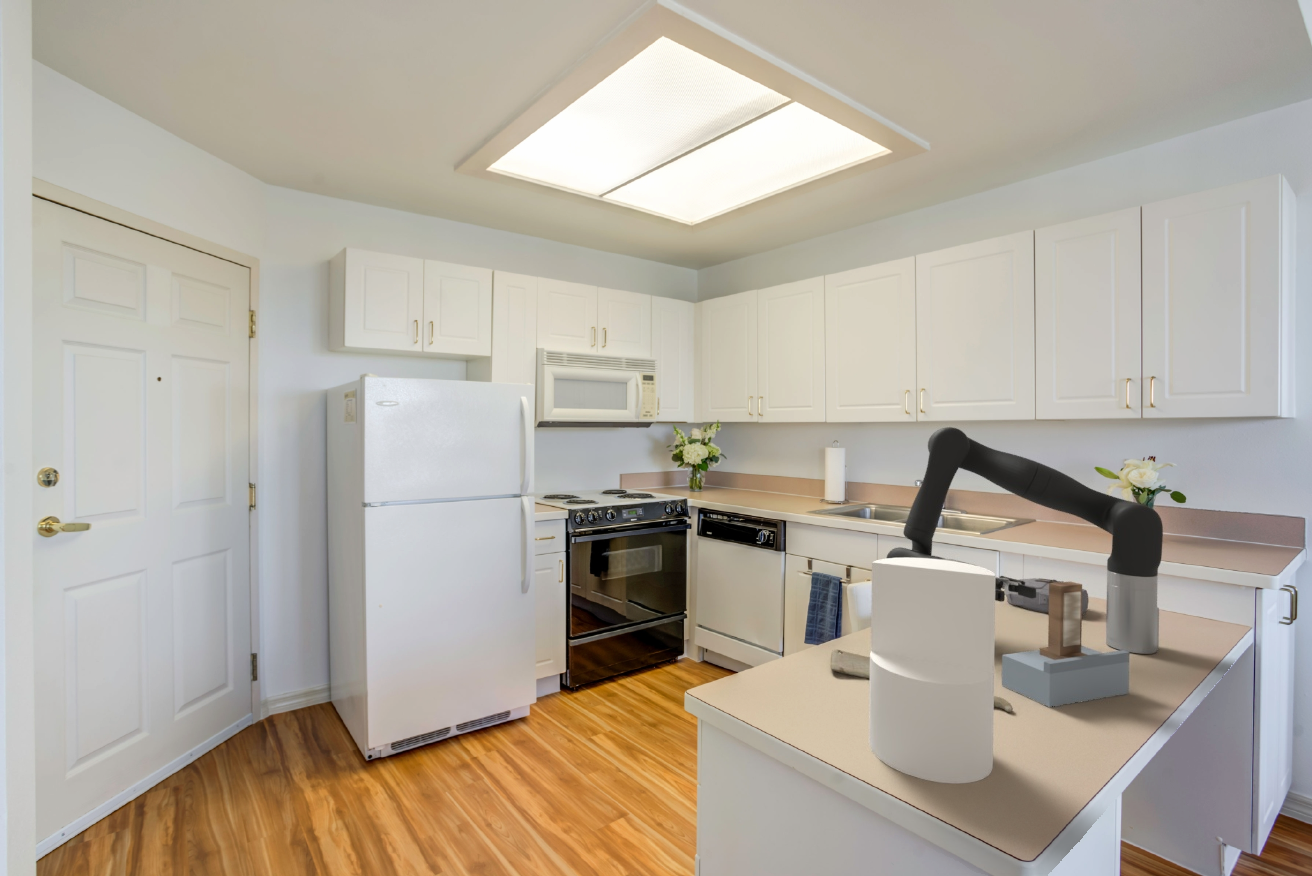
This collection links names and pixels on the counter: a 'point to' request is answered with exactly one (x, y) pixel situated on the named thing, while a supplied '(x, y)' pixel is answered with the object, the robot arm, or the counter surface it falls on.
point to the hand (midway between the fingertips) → (1019, 595)
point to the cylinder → (932, 668)
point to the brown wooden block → (1064, 621)
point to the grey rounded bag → (1040, 596)
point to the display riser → (1067, 676)
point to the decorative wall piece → (861, 668)
